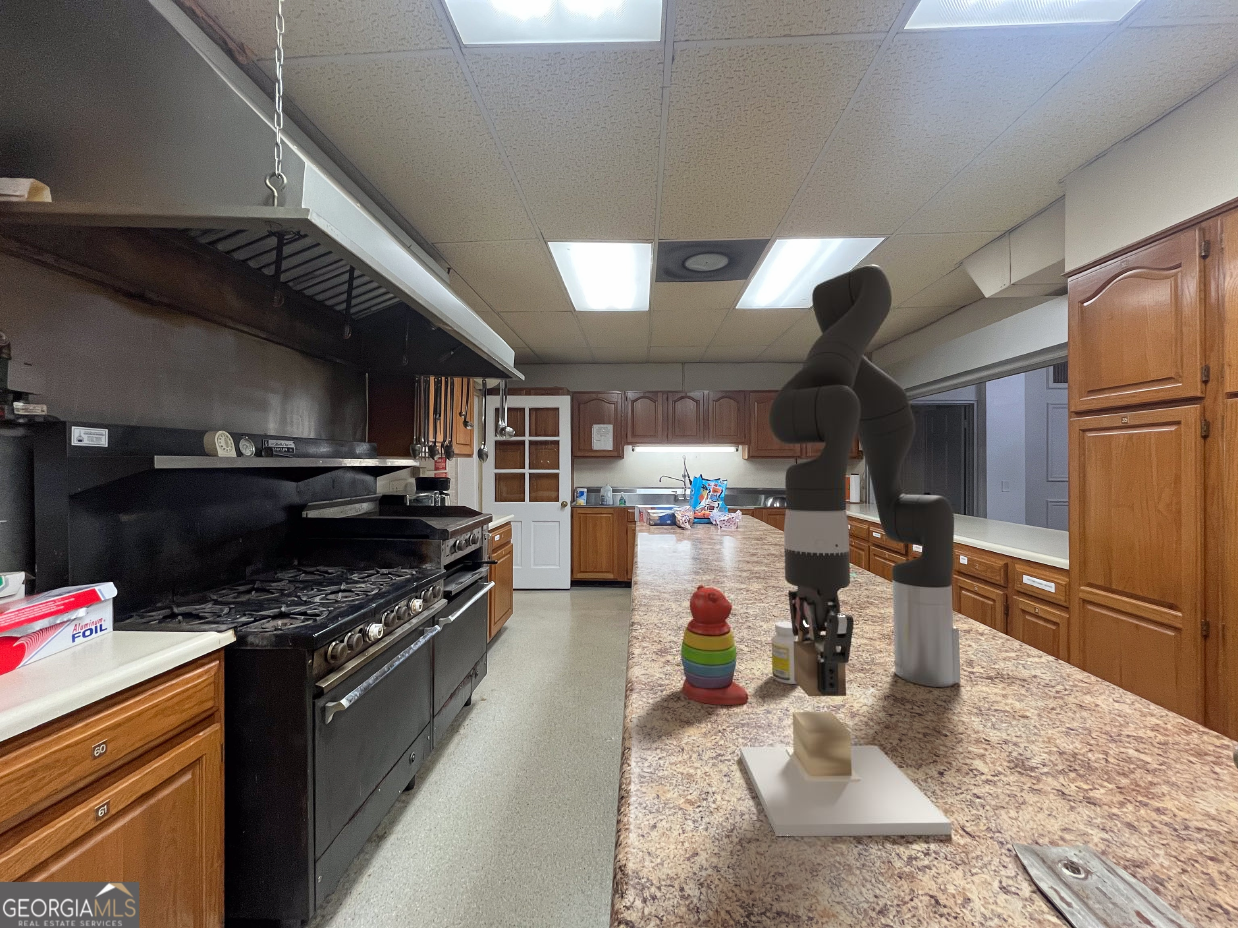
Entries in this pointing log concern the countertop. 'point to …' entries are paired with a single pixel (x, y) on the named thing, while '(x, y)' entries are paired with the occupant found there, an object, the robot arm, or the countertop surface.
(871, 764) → the build board
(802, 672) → the walnut block
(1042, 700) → the countertop surface
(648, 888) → the countertop surface
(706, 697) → the stacking bear
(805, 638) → the robot arm
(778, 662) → the supplement bottle
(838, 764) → the oak block
